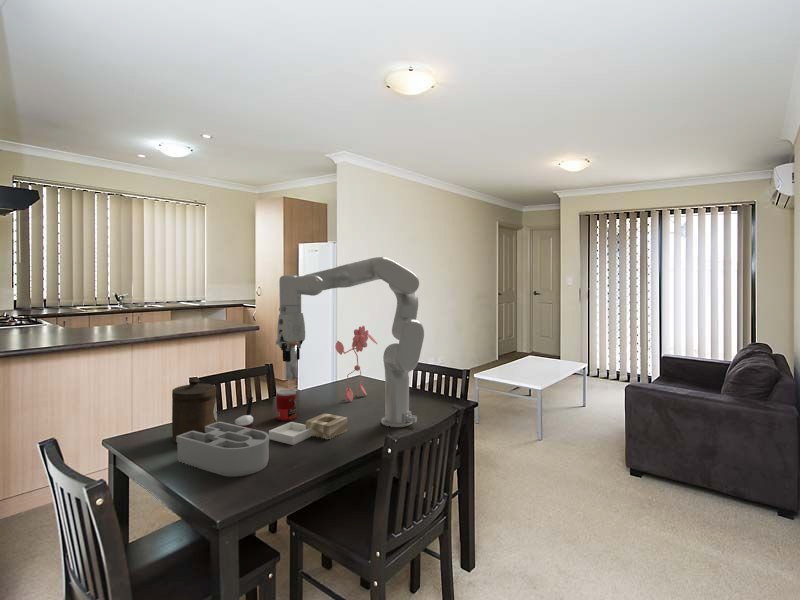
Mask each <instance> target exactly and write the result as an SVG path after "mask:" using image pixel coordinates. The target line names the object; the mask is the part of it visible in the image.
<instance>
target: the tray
mask: <svg viewBox="0 0 800 600" xmlns="http://www.w3.org/2000/svg"><path fill="white" fill-rule="evenodd" d="M268 435H269V440H271V441H275V442H280V443H283V444H286V445H287V444H288V445H292V446H295V445H296V444H299V443H300V442H303V441H304V440H307V439H309V438H312V437H314V436H313V428H309V429H307V430H306V424H303V423H300V422H299V423H298V422H294V421H290V422H287V423H285V424H282V425H279V426H277V427H275V428H272V429H269V430H268ZM311 436H312V437H311Z"/></svg>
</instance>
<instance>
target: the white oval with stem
mask: <svg viewBox="0 0 800 600" xmlns="http://www.w3.org/2000/svg"><path fill="white" fill-rule="evenodd" d="M253 400H254V397H253V396H249V397H248V402H247V406H246V407H247V409H246V414H245V415H240V416H239V417H238V418H236V419H235V421H234V425H237V426H242V427H246V428H251V429H253V427H254V425H253V424H254V417H253V416H252V414H251V411H252V405H253V402H254V401H253Z"/></svg>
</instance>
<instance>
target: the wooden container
mask: <svg viewBox="0 0 800 600" xmlns="http://www.w3.org/2000/svg"><path fill="white" fill-rule="evenodd" d="M188 383H189V384H186V385H180V386H177V387H175V388H173V389H172V391H171V398H172V399H171V400H172V401H171V410H172V411H171V422H172V424H171V426H172V430H171V431H172V433H171V434H172V437H171V438H172V442H173V443H174V442H175V444H176V443H177V442H176V436H178V435H181V434H184V433H187V432H190V431H197V432H201V433H206V432H205V426H207V425H210V424H213V423H216V422H218V413H217V412H218V409H217V386H216V385H215V384H211V383H200V379H199V378H198V377H191V378H190V379H189V380H188Z"/></svg>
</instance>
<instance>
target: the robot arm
mask: <svg viewBox="0 0 800 600" xmlns="http://www.w3.org/2000/svg"><path fill="white" fill-rule="evenodd" d="M378 280H382V281H383V282H385V283H387V284H388V286H389V289H390V291H392V292H393V293H394V295H395V298H396V308H395V309H396V310H395V313H394V317H393V322H392V326H391V334H392V336H393V338H395V339H396V340H398V343H391V344H389V345H388V346H387V347H385V349H384V351H383V366H384V367H383V368H384V378H385V379H384V382H385V383H384V385H385V386H384V400H385V401H384V403H385V404H384V408H385V409H384V415H385V416H383V417H382V418H381V421H380V423H381V424H382V425H383V426H386V427H389V426H390V427H389V428H404V427H409V426H411V425H413V423H417V422H418V416H417V415H412V411H411V410H410V374H409V373H410V372H412V371H413V370H415V369H416V368H417V366H418V364H419V362H420V357H421V354H422V353H421V352H422V348H423V343H424V337H425V329H424V327H423V324H422V323H421V322H420V321H419V320H417V317H418V316H417V315H418V310H419V297H418V294H417V290H418V289H419V287H420V280H419V277H418V276H417V275H416V274H415V273H414V272H413V271H411V270H409V269H408V268H407V267H405V266H403V265H401V264H399V263H398V262H396V261H395V260H392V259H391V258H389V257H387V256H378V257H377V256H376V257H371V258H367V259H364V260H363V259H362V260H359V261H354V262H351V263H347V264H343V265H339V266H336V267H332V268H328V269H325V270H320V271H316V272H312V273H308V274H304V275H302V276H301V275H297V274H296V275H294V274H292V275H290V274H287V275H286V274H285V275H281V276H280V277H279V283H278V285H279V308H278V311H279V314H278V317H277V331H276V332H277V334H276V335H277V339H276V340H275V345H277V346H279V348H280V350H281V351H282V362H285V363H286V362H290V361H291V360H290V351H289V346H290V342H295V341H298V344H297V361H298V360H300V359H301V358H300V356H301V355H300V349H301V348H302V345H303V343H304V341H305V340H306V325H305V318H304V313H303V312H302V295H305V296H312V297H313V296H318V295H320V294H321V293H322V292H323V291H326V290H330V289H331V290H332V289H337V288H338V289H339V288H340V289H341V288H343V289H344V288H351V287H354V286H358V285H362V284H366V283H370V282H374V281H378ZM284 341H286V342H284ZM284 343H286V345H285V344H284Z"/></svg>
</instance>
